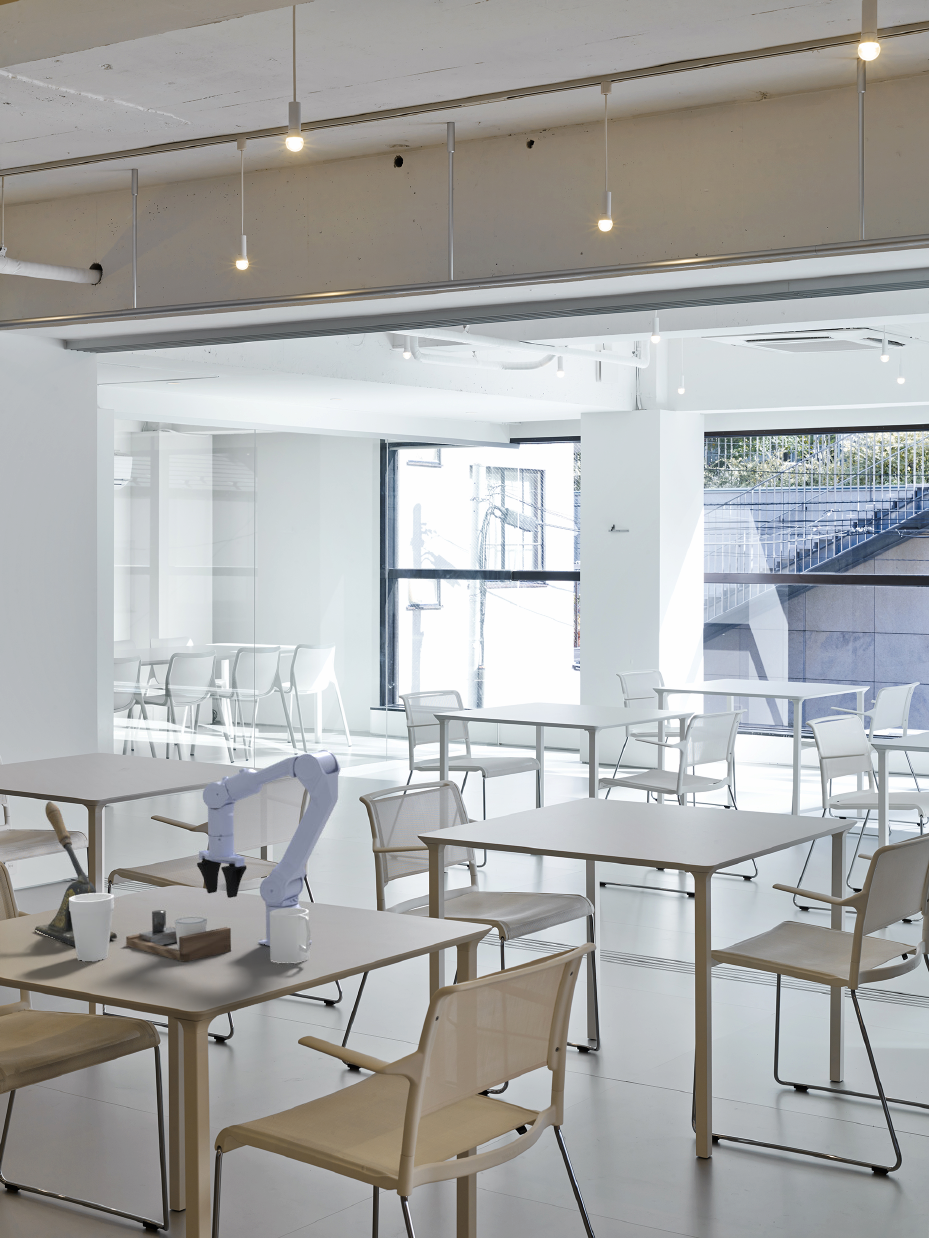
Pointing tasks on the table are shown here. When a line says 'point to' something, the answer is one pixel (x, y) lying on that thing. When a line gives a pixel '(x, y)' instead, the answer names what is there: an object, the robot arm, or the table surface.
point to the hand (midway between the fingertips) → (222, 894)
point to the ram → (159, 930)
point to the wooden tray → (189, 945)
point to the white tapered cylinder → (189, 926)
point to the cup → (289, 935)
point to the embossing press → (62, 921)
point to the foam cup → (91, 924)
